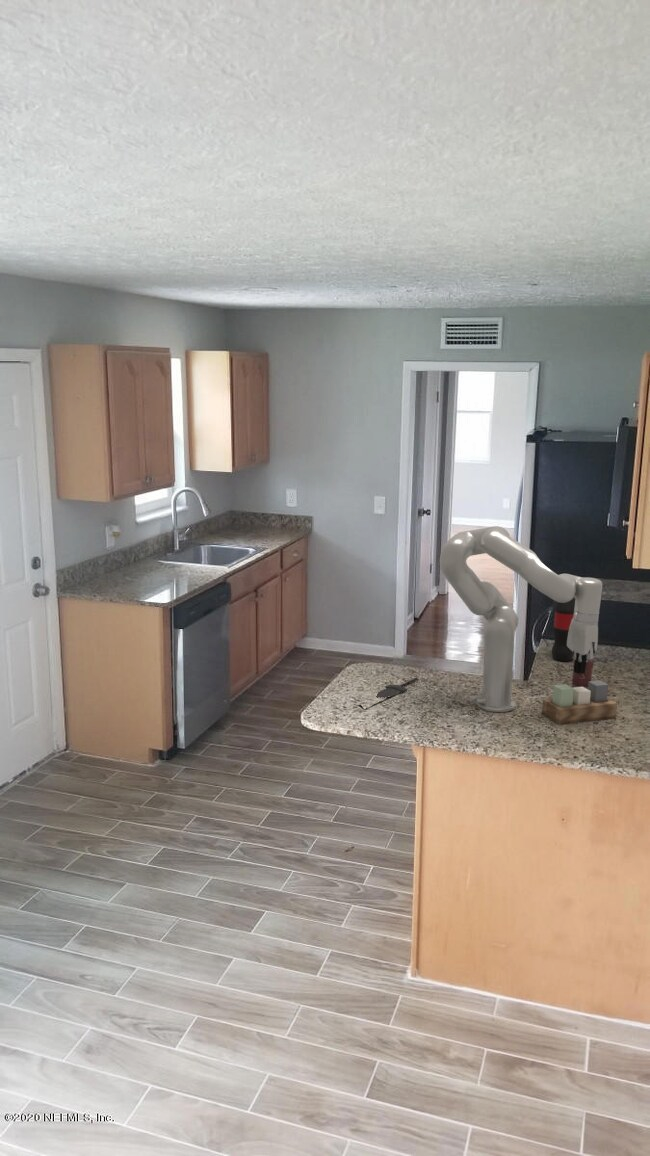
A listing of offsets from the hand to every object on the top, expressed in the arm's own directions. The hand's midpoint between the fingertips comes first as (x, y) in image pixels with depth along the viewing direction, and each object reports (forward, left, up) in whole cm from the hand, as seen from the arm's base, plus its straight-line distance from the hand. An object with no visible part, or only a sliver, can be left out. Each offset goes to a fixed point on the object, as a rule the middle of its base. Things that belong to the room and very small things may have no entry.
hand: (579, 672), depth 280 cm
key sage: (-6, -1, -11) cm, 12 cm away
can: (+13, +15, -15) cm, 25 cm away
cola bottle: (+31, +53, -15) cm, 63 cm away
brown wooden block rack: (+1, -1, -15) cm, 15 cm away
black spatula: (-50, +36, -15) cm, 64 cm away
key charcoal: (+7, -1, -11) cm, 13 cm away
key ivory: (+1, -1, -13) cm, 13 cm away
